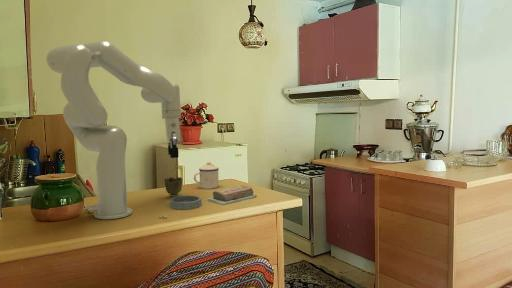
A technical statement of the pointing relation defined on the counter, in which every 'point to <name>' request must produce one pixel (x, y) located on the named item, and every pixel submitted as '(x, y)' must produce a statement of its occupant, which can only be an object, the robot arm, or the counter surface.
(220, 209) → the counter surface
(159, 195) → the counter surface
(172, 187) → the dark rounded textured piece
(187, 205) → the blue-grey plate
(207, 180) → the teacup with lid
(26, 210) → the counter surface
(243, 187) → the packaged product
